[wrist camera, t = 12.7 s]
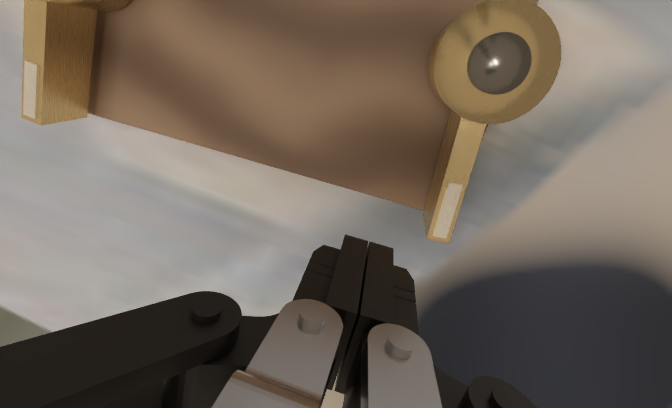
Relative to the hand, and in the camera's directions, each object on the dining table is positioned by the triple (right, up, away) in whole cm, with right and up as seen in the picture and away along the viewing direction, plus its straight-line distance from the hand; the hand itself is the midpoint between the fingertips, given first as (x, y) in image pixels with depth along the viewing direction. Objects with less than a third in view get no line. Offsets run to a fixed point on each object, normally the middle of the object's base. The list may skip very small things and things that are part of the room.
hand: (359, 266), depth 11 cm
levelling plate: (-5, +14, +11) cm, 19 cm away
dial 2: (+6, +7, +10) cm, 14 cm away
